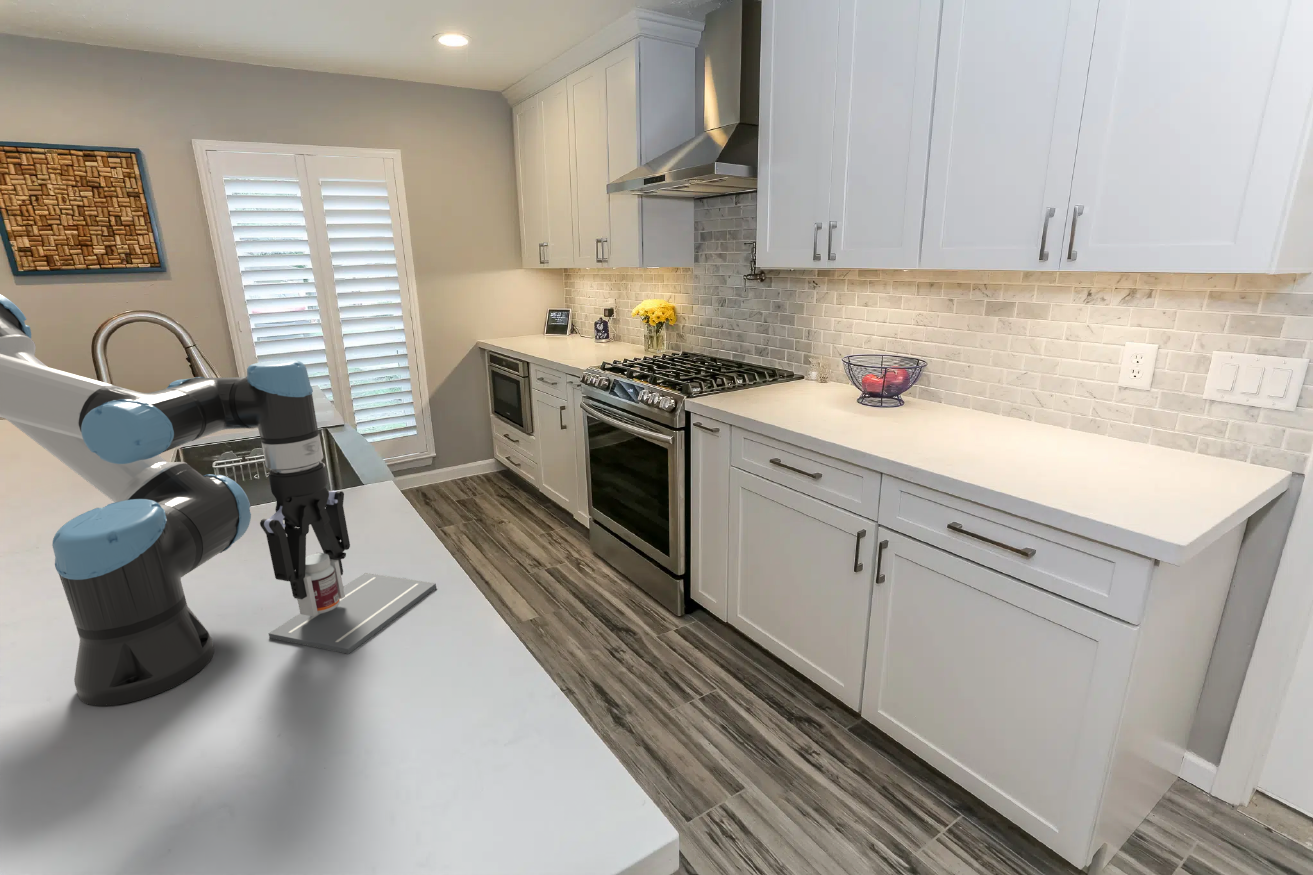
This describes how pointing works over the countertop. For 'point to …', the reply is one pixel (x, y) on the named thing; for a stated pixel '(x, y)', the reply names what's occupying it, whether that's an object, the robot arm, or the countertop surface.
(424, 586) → the slate
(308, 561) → the pill bottle
